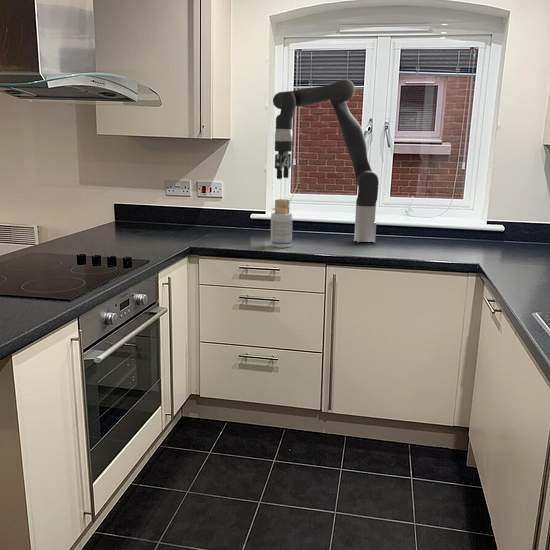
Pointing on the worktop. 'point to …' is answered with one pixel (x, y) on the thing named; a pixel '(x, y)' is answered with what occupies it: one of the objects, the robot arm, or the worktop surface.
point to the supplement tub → (281, 230)
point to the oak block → (282, 206)
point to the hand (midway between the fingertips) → (282, 178)
